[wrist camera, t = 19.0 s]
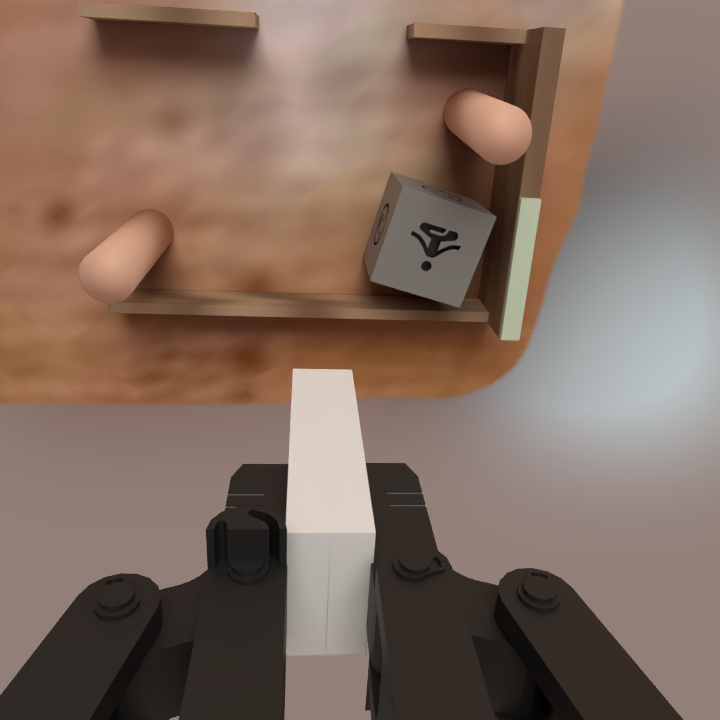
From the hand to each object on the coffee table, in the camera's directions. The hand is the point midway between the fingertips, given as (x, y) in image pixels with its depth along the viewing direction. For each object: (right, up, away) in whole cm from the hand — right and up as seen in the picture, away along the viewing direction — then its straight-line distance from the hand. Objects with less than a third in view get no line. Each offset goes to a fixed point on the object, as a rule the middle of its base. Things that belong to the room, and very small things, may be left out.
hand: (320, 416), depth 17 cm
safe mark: (+9, +6, +17) cm, 20 cm away
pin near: (+7, +15, +19) cm, 25 cm away
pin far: (-11, +9, +20) cm, 24 cm away
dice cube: (+4, +9, +21) cm, 23 cm away
